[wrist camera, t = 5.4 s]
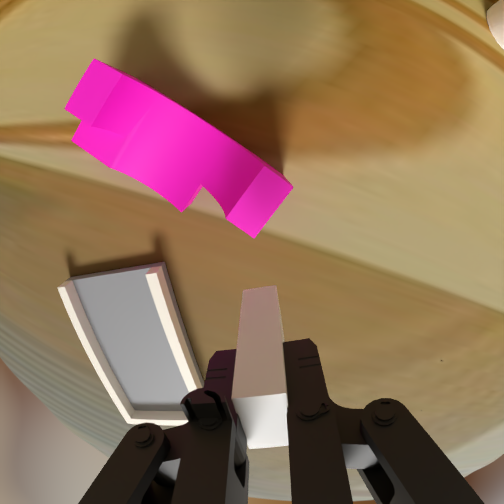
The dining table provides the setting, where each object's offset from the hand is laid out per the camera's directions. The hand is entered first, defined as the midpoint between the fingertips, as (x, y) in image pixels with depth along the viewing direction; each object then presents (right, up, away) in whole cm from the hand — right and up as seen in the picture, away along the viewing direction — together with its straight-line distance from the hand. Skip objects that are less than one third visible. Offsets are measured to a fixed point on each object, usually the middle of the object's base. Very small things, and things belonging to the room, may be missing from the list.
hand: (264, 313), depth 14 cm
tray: (-12, -8, +16) cm, 21 cm away
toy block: (-6, +11, +10) cm, 16 cm away
